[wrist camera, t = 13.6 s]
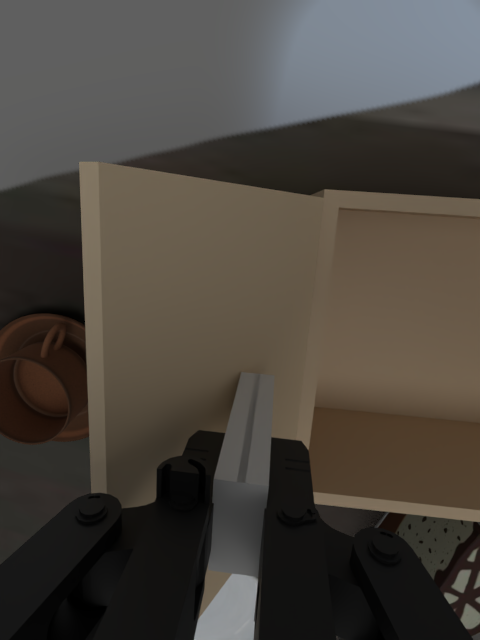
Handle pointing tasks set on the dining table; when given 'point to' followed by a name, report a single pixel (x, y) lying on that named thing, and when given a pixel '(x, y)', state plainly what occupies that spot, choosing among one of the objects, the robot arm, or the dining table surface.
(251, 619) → the serving bowl
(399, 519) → the food container
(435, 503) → the carton
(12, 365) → the cup and saucer
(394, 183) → the dining table surface
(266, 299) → the flap
